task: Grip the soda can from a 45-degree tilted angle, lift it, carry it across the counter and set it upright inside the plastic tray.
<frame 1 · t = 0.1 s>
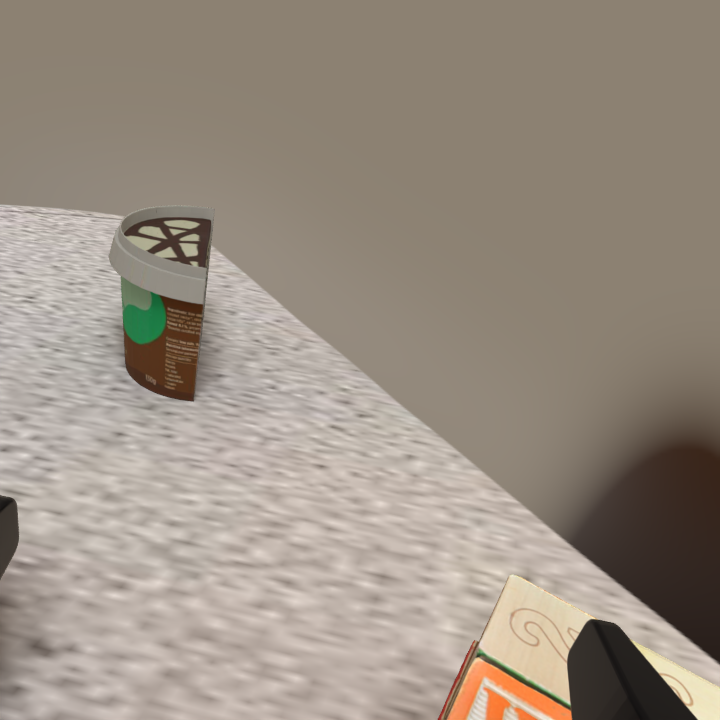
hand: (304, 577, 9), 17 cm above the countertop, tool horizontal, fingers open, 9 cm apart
food container: (153, 362, 44), on the countertop
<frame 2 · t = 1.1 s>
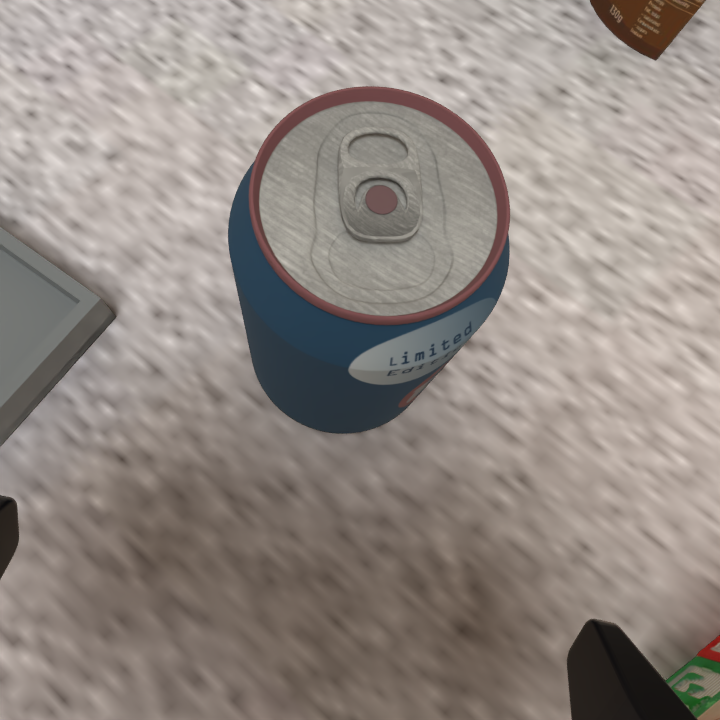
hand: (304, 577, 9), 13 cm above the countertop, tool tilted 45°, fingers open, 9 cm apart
soda can: (339, 355, 25), on the countertop
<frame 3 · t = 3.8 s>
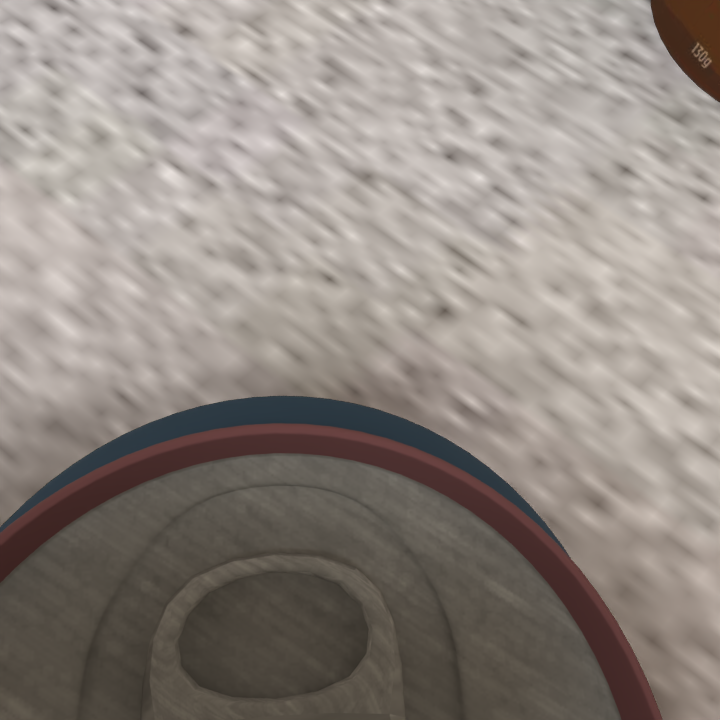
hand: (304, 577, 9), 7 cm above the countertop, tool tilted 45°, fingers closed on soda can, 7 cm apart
soda can: (287, 615, 16), on the countertop, touching gripper
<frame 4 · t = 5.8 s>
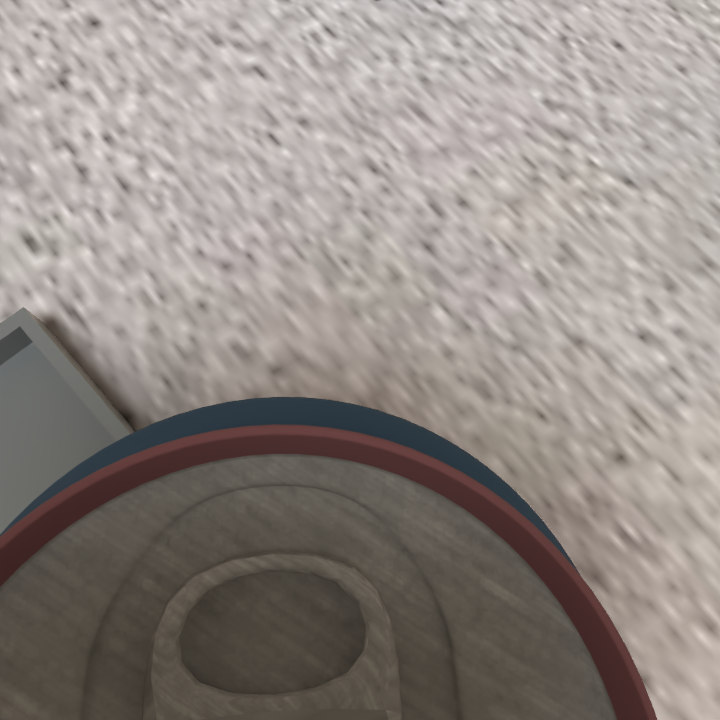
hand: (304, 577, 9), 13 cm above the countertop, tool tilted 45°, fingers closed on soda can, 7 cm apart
tray: (2, 557, 21), on the countertop
soda can: (292, 614, 16), point 6 cm above the countertop, touching gripper
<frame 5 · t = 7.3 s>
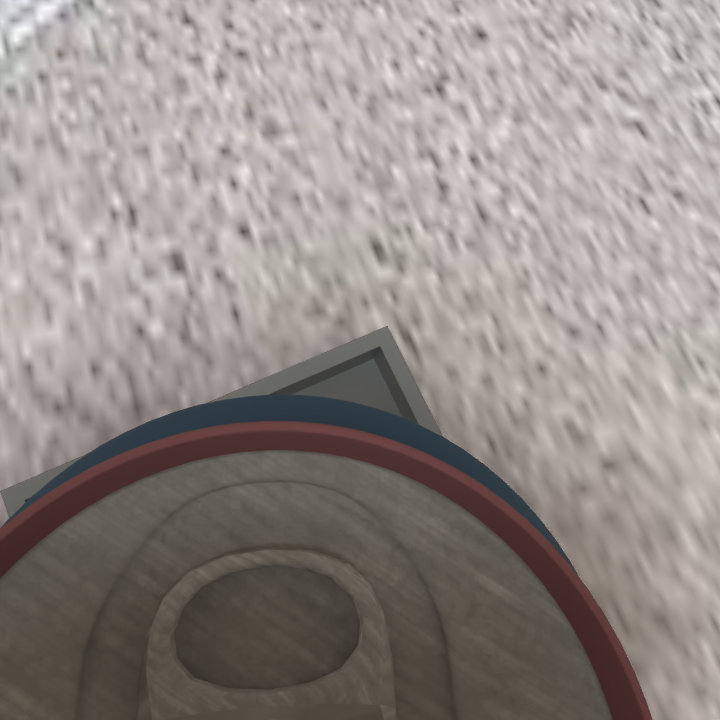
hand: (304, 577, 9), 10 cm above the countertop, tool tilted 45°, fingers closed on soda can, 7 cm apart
tray: (289, 589, 19), on the countertop
soda can: (292, 613, 16), point 3 cm above the countertop, touching gripper
when the fingers open (8 cm above the countertop, at t = 8.2 s): soda can drops 1 cm, resting on tray.
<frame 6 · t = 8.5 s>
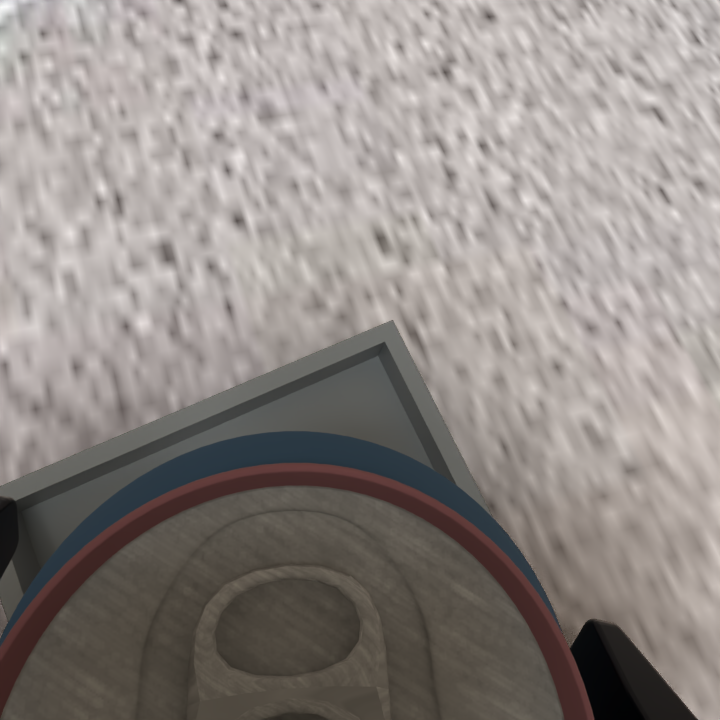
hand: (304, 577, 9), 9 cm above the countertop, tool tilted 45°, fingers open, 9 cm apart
tray: (287, 606, 17), on the countertop
soda can: (291, 614, 17), resting on tray
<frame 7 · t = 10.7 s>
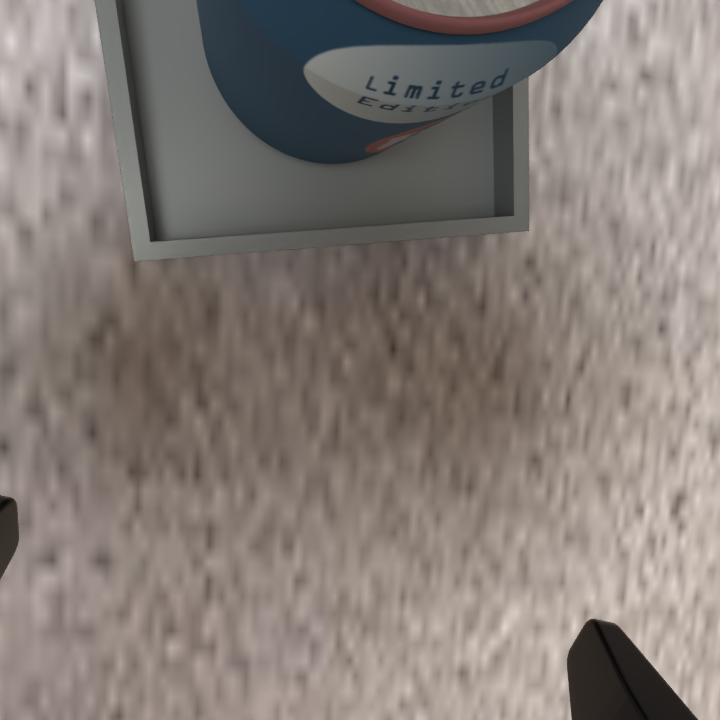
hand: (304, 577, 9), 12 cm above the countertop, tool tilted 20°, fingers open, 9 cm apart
tray: (317, 46, 19), on the countertop
soda can: (321, 49, 18), resting on tray
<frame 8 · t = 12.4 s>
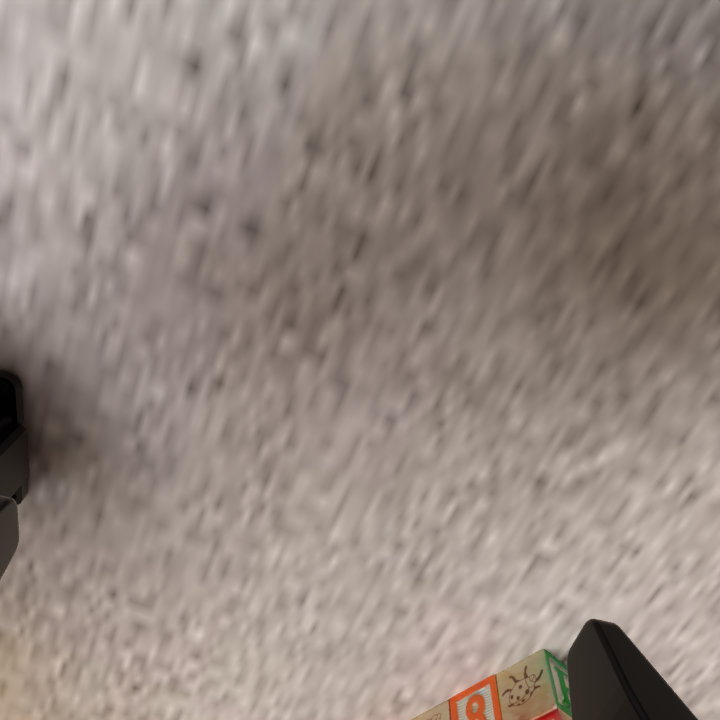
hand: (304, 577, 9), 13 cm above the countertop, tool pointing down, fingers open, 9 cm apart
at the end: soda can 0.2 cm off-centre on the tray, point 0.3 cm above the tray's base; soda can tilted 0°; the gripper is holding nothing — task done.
